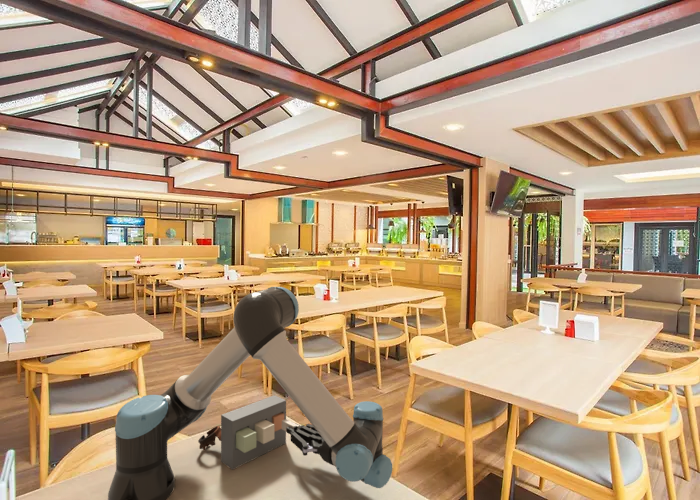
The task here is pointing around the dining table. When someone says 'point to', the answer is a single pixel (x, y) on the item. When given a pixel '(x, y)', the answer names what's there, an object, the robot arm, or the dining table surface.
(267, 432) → the ivory button
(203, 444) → the pottery mug
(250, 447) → the sage button
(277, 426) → the terracotta button
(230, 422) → the console
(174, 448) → the dining table surface
